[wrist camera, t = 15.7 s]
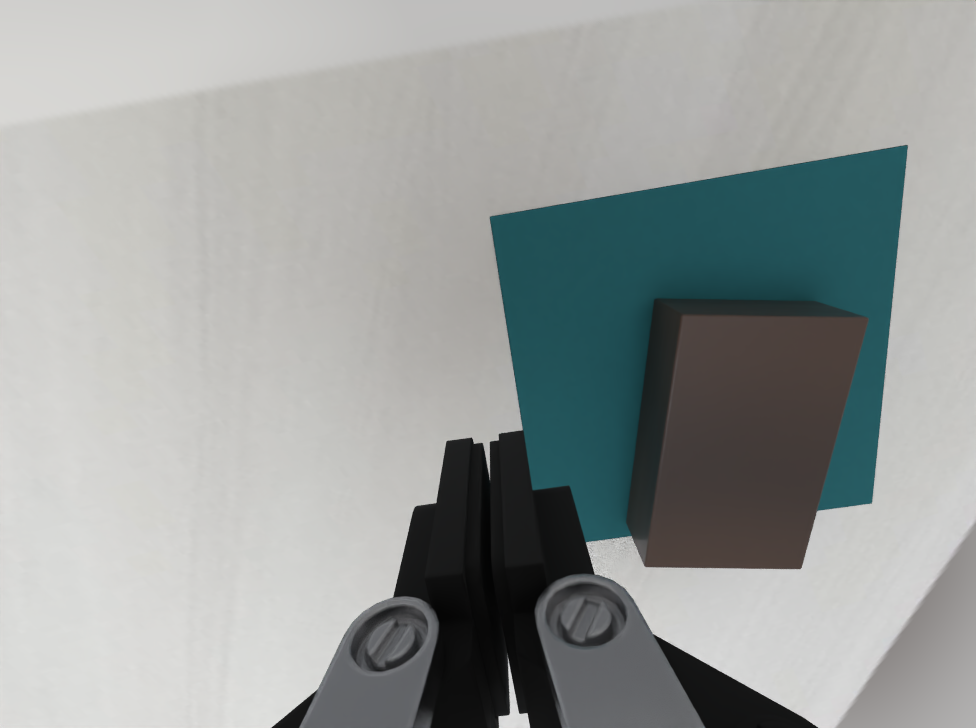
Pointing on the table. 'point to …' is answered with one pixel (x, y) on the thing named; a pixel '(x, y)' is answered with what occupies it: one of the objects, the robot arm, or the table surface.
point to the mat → (688, 275)
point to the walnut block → (738, 429)
